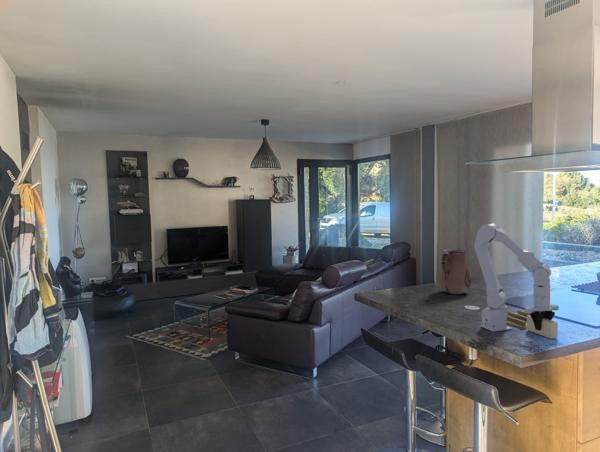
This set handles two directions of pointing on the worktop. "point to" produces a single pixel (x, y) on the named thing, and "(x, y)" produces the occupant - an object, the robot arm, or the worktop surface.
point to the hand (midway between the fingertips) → (541, 329)
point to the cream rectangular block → (544, 327)
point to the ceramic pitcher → (454, 272)
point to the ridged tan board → (517, 319)
